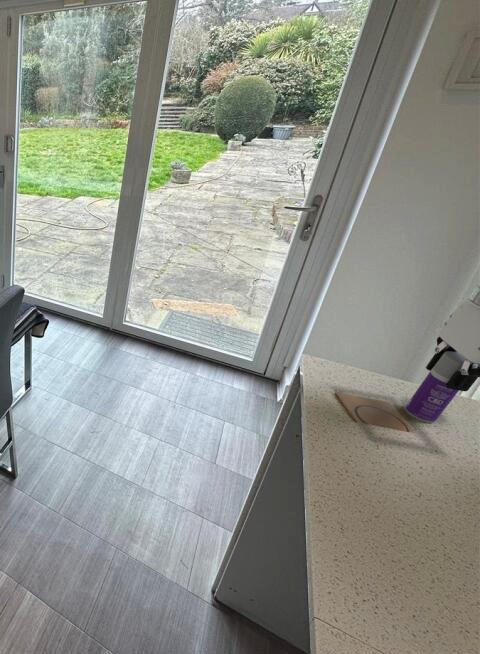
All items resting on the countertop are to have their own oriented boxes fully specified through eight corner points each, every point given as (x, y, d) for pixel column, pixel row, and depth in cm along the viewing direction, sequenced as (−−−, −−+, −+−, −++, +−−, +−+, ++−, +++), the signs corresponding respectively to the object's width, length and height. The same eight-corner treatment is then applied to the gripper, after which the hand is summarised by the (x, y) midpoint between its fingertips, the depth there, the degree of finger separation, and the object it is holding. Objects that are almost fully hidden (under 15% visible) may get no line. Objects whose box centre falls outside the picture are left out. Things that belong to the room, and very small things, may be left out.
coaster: (388, 403, 89) (389, 401, 88) (434, 456, 77) (435, 454, 76) (334, 393, 91) (335, 391, 91) (371, 443, 79) (372, 441, 79)
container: (414, 420, 84) (456, 363, 77) (398, 404, 88) (437, 349, 81) (441, 425, 83) (486, 368, 76) (424, 408, 87) (465, 353, 81)
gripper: (577, 332, 65) (505, 415, 73) (489, 283, 80) (437, 357, 88) (517, 324, 67) (454, 406, 75) (442, 277, 81) (395, 350, 90)
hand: (445, 378), depth 81 cm, fingers closed on container, 4 cm apart
